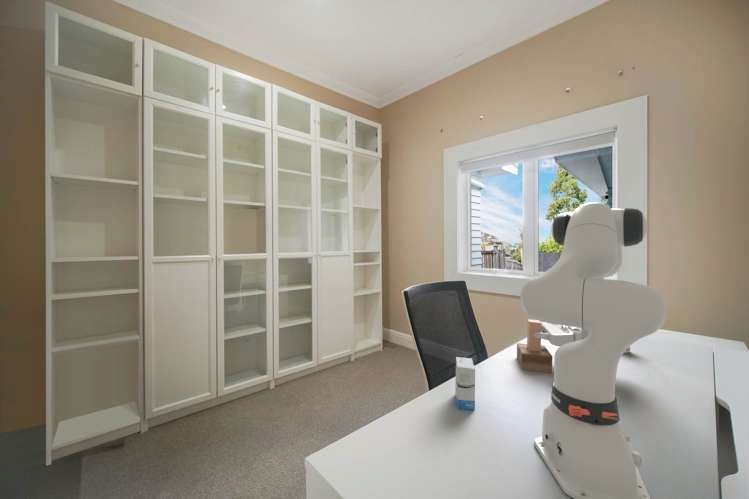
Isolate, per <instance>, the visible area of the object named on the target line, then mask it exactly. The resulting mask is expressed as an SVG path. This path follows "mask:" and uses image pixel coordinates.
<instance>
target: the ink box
mask: <svg viewBox="0 0 749 499" xmlns="http://www.w3.org/2000/svg"><path fill="white" fill-rule="evenodd" d="M454 390H455V391H454V393H455V394H454V396H455V401H456V407H457V409H459V410H460V409H461V410H470V411H475V409H476V406H475V405H476V367H475V365H474V361H473V358H470V357H469V358H468V357H461V356H456V357H455V389H454Z"/></svg>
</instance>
